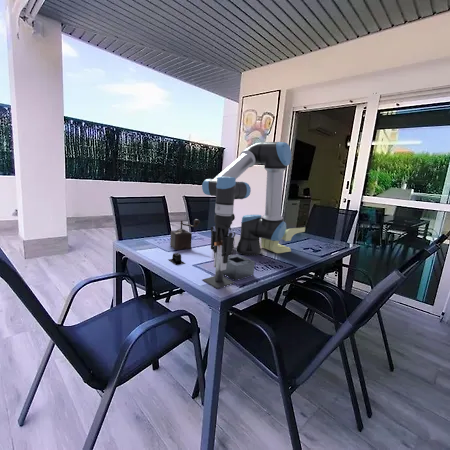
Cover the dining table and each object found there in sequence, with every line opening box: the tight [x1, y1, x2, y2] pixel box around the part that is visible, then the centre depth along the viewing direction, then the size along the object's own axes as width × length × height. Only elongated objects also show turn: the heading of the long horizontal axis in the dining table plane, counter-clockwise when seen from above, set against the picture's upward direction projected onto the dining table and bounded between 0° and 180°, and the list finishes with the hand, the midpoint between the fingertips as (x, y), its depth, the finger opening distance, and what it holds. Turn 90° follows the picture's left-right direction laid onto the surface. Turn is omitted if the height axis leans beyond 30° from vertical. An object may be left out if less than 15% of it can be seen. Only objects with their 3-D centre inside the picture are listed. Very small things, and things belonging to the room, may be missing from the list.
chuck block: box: [224, 254, 256, 281], centre depth 123 cm, size 12×12×7 cm
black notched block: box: [167, 252, 186, 266], centre depth 134 cm, size 12×7×5 cm, turn 38°
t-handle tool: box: [214, 241, 225, 282], centre depth 111 cm, size 4×7×17 cm, turn 131°
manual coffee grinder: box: [169, 218, 201, 251], centre depth 160 cm, size 16×11×18 cm
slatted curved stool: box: [260, 226, 306, 254], centre depth 169 cm, size 30×16×18 cm, turn 33°
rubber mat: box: [202, 275, 236, 289], centre depth 113 cm, size 10×10×1 cm
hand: (219, 268), depth 112 cm, fingers closed on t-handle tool, 4 cm apart
